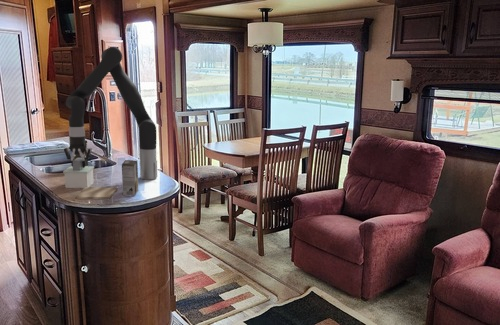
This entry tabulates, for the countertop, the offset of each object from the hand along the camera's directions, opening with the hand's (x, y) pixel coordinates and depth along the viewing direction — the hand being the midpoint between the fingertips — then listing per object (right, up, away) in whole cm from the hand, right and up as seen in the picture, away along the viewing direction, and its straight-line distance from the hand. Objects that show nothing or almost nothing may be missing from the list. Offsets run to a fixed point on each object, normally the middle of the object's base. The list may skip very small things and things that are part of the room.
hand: (78, 167), depth 220 cm
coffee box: (+29, -13, -8) cm, 33 cm away
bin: (0, -10, +2) cm, 10 cm away
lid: (0, -3, +1) cm, 3 cm away
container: (-12, -3, +32) cm, 34 cm away
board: (+14, -13, -11) cm, 22 cm away
